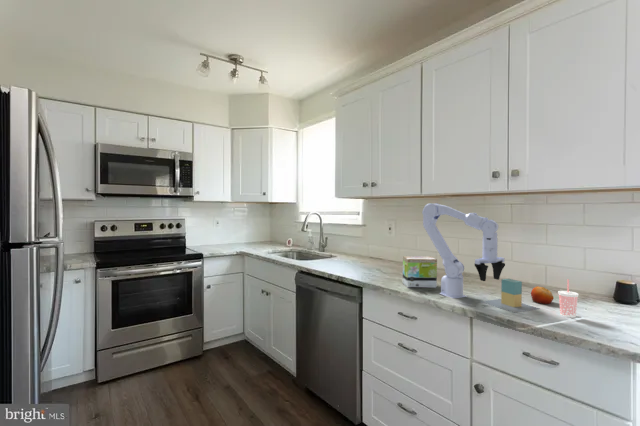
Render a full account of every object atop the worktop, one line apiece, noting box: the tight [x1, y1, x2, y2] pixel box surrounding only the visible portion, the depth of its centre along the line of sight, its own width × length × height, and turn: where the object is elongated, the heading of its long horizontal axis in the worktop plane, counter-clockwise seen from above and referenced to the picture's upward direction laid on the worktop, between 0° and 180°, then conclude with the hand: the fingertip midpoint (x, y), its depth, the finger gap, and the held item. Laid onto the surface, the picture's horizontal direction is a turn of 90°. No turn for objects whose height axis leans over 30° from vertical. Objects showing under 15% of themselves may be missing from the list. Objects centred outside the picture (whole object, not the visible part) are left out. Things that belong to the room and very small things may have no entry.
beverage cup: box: [557, 278, 579, 320], centre depth 123 cm, size 6×6×14 cm
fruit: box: [530, 285, 554, 305], centre depth 140 cm, size 8×8×8 cm
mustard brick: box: [500, 290, 523, 307], centre depth 136 cm, size 6×4×5 cm, turn 20°
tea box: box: [402, 255, 438, 289], centre depth 172 cm, size 15×10×15 cm, turn 91°
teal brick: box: [500, 278, 523, 295], centre depth 136 cm, size 6×4×5 cm, turn 21°
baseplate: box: [480, 298, 541, 314], centre depth 136 cm, size 16×14×1 cm
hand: (489, 279), depth 142 cm, fingers open, 7 cm apart
